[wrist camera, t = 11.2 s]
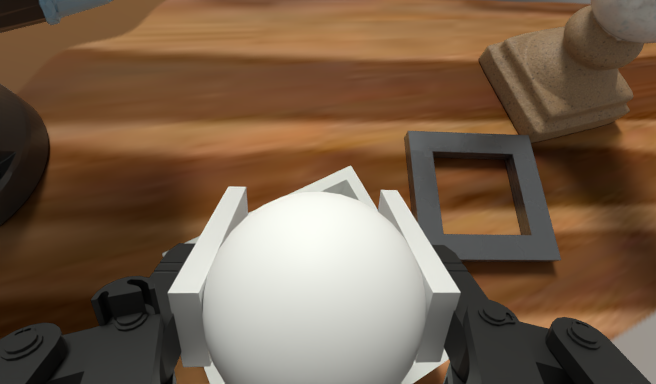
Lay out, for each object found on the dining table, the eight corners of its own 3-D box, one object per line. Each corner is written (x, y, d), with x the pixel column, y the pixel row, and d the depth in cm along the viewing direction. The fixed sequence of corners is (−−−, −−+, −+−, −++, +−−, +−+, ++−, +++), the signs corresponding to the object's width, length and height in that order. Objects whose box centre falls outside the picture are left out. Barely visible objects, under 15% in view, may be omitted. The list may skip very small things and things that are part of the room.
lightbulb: (389, 287, 17) (518, 256, 7) (324, 395, 15) (367, 585, 5) (299, 223, 18) (292, 108, 8) (226, 316, 16) (85, 332, 6)
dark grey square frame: (416, 261, 25) (422, 259, 24) (404, 137, 29) (408, 130, 28) (549, 262, 26) (561, 260, 25) (520, 141, 30) (528, 135, 29)
